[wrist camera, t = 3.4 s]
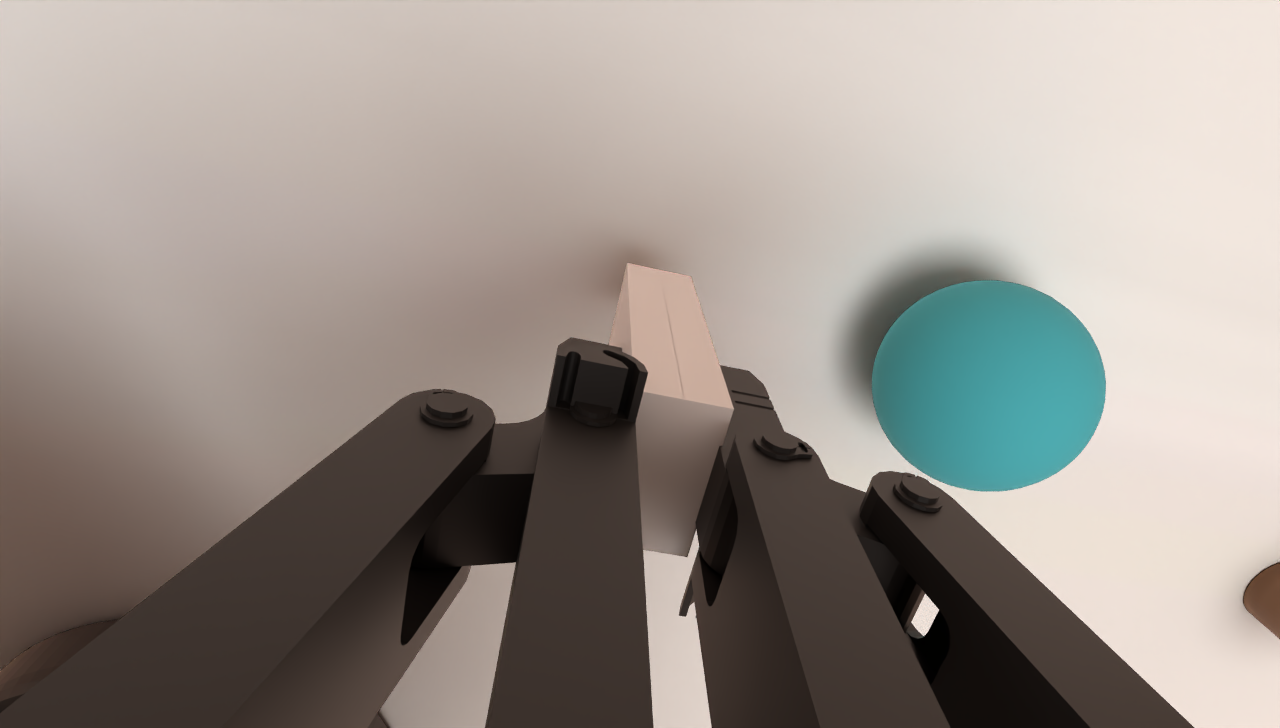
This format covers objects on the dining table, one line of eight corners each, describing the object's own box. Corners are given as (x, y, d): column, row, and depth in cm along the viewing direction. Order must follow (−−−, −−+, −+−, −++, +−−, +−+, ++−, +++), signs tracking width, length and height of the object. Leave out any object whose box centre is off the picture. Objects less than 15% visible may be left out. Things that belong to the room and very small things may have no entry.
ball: (984, 441, 23) (1091, 551, 18) (821, 409, 22) (884, 515, 17) (1061, 277, 21) (1206, 351, 16) (884, 237, 20) (976, 301, 15)
